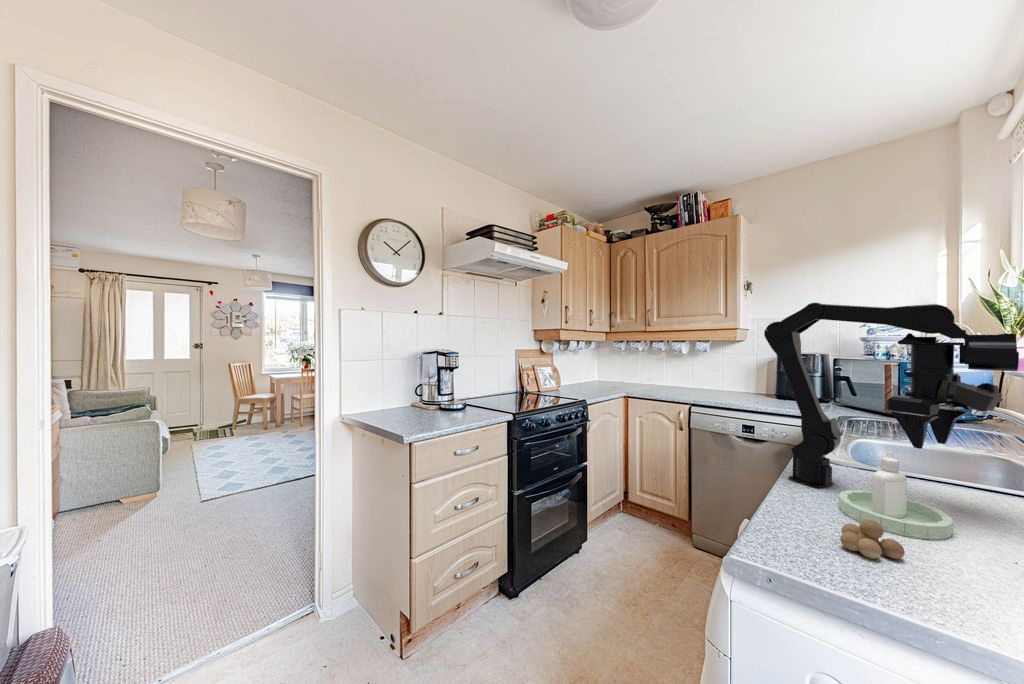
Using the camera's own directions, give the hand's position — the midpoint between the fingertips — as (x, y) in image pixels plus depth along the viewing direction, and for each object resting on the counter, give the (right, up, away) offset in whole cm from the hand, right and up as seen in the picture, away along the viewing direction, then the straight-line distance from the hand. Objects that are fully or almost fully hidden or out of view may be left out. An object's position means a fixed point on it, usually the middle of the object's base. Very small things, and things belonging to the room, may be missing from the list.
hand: (930, 445), depth 75 cm
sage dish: (-11, -13, -3) cm, 17 cm away
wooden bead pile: (-26, -13, -14) cm, 32 cm away
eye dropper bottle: (-12, -13, -3) cm, 17 cm away
